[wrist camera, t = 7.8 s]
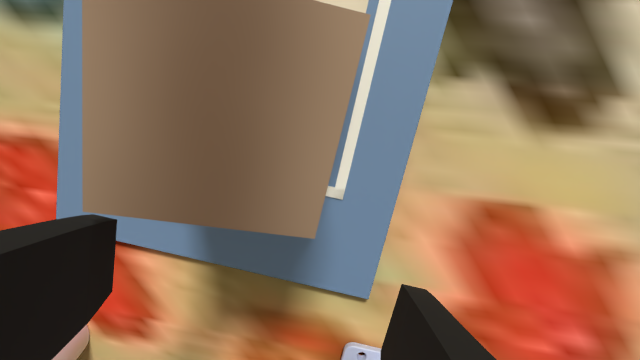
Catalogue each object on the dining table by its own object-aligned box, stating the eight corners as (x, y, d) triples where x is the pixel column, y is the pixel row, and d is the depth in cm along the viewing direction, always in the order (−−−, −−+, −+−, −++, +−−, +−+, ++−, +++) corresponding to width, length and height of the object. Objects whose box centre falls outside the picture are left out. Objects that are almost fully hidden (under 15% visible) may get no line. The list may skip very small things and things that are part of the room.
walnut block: (323, 13, 13) (370, 14, 7) (293, 153, 15) (314, 238, 9) (163, -27, 12) (81, -60, 6) (153, 130, 14) (82, 211, 8)
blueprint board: (457, -28, 17) (462, -32, 16) (367, 293, 21) (368, 300, 20) (77, -111, 17) (66, -119, 16) (63, 222, 21) (54, 227, 21)
